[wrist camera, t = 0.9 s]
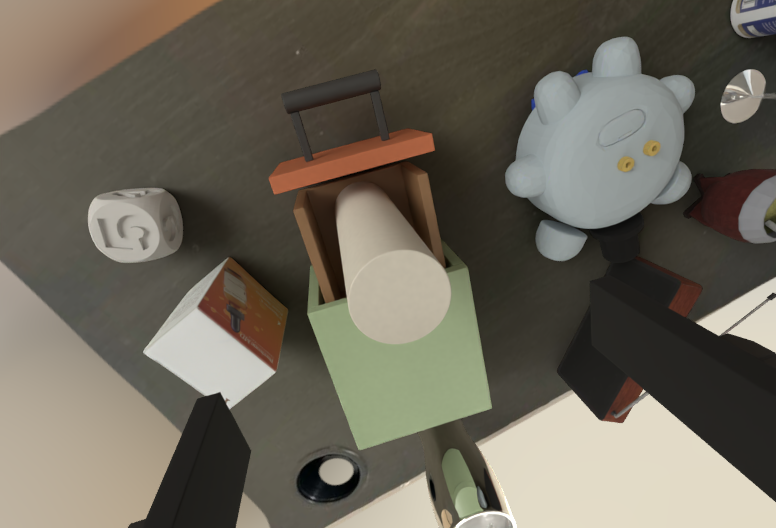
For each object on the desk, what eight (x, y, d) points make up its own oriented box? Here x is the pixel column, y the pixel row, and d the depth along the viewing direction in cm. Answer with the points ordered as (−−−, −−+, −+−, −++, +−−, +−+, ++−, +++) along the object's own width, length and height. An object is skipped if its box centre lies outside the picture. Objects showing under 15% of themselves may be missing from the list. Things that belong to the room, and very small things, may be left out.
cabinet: (310, 265, 38) (307, 314, 29) (433, 230, 39) (467, 266, 30) (351, 381, 44) (358, 451, 35) (457, 348, 45) (492, 408, 36)
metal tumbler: (453, 383, 47) (509, 498, 33) (468, 423, 49) (526, 544, 36) (400, 405, 47) (433, 530, 33) (418, 444, 49) (456, 574, 36)
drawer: (258, 102, 31) (240, 101, 24) (395, 67, 32) (417, 55, 25) (326, 297, 39) (327, 341, 31) (436, 265, 39) (463, 300, 32)
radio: (576, 375, 49) (675, 477, 36) (556, 371, 49) (649, 475, 35) (647, 239, 44) (798, 300, 30) (625, 233, 43) (771, 292, 29)
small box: (289, 309, 40) (279, 373, 30) (249, 341, 40) (226, 415, 31) (229, 253, 36) (196, 306, 27) (186, 290, 37) (139, 353, 27)
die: (112, 189, 33) (79, 202, 28) (175, 186, 34) (152, 198, 29) (128, 245, 35) (99, 265, 30) (187, 241, 35) (168, 260, 31)
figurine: (462, 107, 35) (522, 273, 44) (508, 119, 27) (568, 315, 37) (637, 7, 34) (659, 198, 44) (733, -8, 26) (733, 226, 36)
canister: (327, 190, 34) (334, 267, 17) (382, 174, 34) (441, 236, 17) (343, 242, 36) (363, 357, 19) (395, 227, 36) (459, 327, 19)
